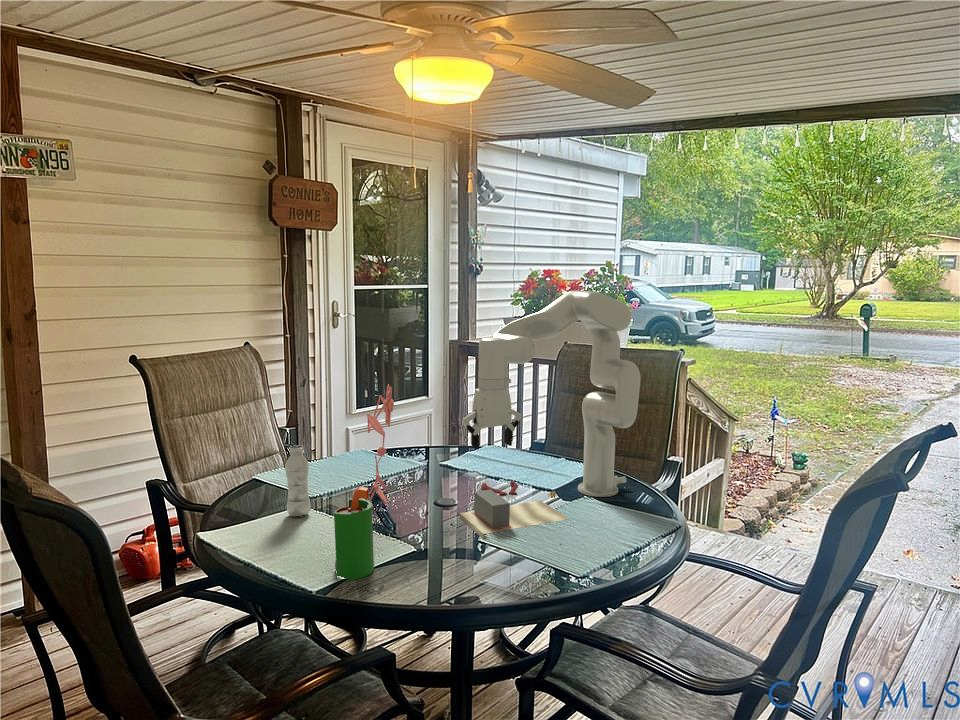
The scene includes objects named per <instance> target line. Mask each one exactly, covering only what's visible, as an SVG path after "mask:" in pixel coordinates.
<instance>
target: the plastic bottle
mask: <svg viewBox="0 0 960 720" xmlns="http://www.w3.org/2000/svg"><path fill="white" fill-rule="evenodd" d="M304 453H305V450H304V445H299V444H297V445H291V446H289V457H288V459H286V462H285V464H284V469H285V475H286V481H287V482H286V483H287V501H286V511H287V514H288V516H290V515H291V516H290V517H292V516H301V517H303V516H302V515H305V516H307V515H308V514H309V513H310V512H311V506H312V504H311V499H310V495H309V488H308V487H309V483H308V482H309V481H308V479H309V467H310V463H309V461H308V459H307V458H306V457H305V456H304ZM306 514H307V515H306Z"/></svg>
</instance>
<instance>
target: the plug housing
mask: <svg viewBox="0 0 960 720" xmlns="http://www.w3.org/2000/svg"><path fill="white" fill-rule="evenodd" d="M473 494H474V496H473V497H474V499H473V501H474V503H473V504H474V505H473V507H474V508H473V511H474V514H476V515H477V516H478V517H479V518H480V519H482V520H483V521H484V522H485V523H486V524H488V525H489V526H490V527H491V528H492V529H494V528H500V527H506V526H509V523H510V505H511V503H510V502H509V501H508V500H507V499H504V498H503V496H499V494H498V493H495V492H493V491H492V490H491V489H490V490H478V491H474V492H473Z"/></svg>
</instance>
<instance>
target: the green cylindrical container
mask: <svg viewBox="0 0 960 720" xmlns="http://www.w3.org/2000/svg"><path fill="white" fill-rule="evenodd" d="M369 492H370V490H369V487H365V486H364V487H363V486H359V487H357V489H356V490H355V491H354V492H353V495H352V497H351V498H348V506H342V507H339V508H337V509H335V511H334V512H333V520H334V540H335V545H334V546H335V547H334V548H335V561H334V568H335V569H336V571H337V574H336V577H337V576H341V577H344V578H347V579H350V580H351V581H352V580H359V579H362V578H365V577H368V576H369V575H371V574H372V573H374V569H375V559H374V555H375V553H374V536H373V535H374V531H373V503H372V502H371V501H369V498H370V496H369V495H370V494H369ZM350 580H349V581H350Z"/></svg>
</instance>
